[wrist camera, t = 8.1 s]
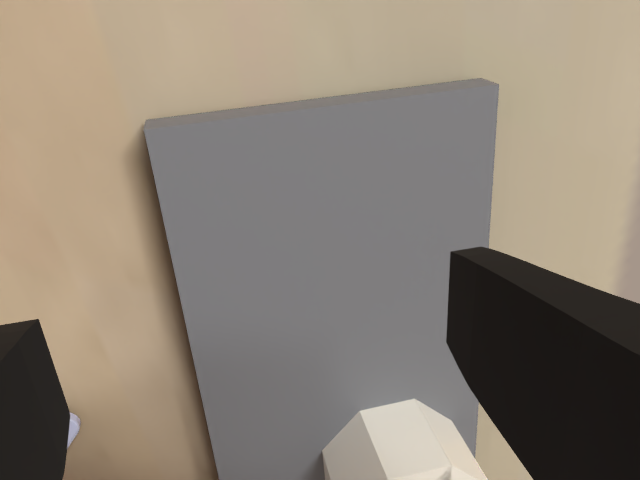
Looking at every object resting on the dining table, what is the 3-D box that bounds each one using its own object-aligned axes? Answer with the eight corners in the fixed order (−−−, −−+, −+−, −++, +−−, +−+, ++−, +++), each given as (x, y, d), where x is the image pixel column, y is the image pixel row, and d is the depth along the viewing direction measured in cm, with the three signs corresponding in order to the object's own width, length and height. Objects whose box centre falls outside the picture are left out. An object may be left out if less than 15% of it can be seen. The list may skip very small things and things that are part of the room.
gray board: (460, 493, 28) (471, 513, 27) (236, 549, 26) (239, 574, 25) (481, 77, 19) (499, 84, 18) (146, 120, 17) (143, 129, 16)
